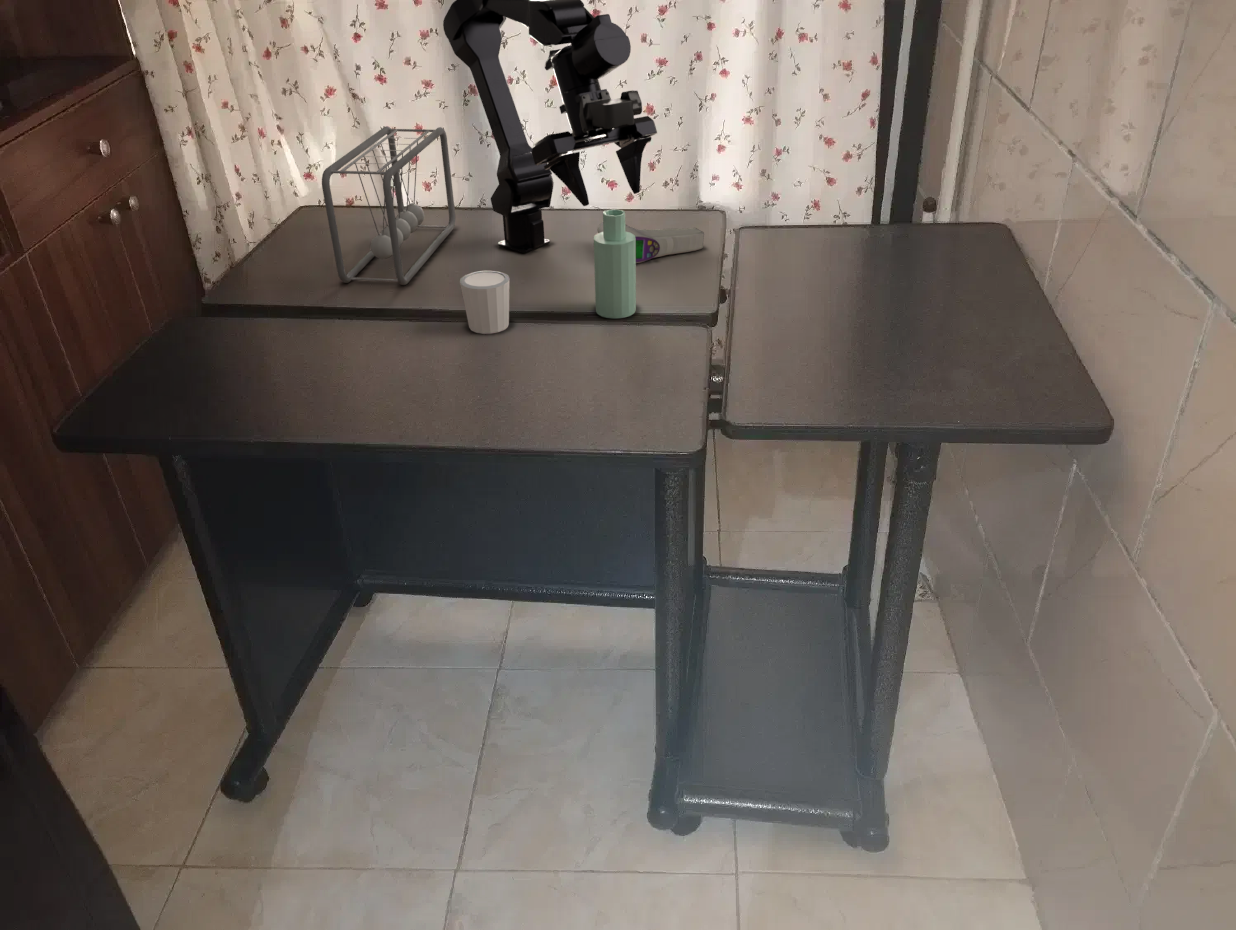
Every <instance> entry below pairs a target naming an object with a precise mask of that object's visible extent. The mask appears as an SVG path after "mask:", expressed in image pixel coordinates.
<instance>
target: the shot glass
mask: <svg viewBox="0 0 1236 930" xmlns="http://www.w3.org/2000/svg"><path fill="white" fill-rule="evenodd" d="M510 280H511V279H510V276H509V275H508V274H507V273H505V272H502V271H497V270H479V271H474V272H473V271H472V272H470V273H468V274H465V275H463V276H462V277H460V280H459V285H460V291H461V294H462V295H461V296H462V300H463V305H464V309H465V314H466V319H467V325H468V328H469V329H470V331H471V332H474V333H477V334H483V335H485V334H486V335H492V334H496V333H500V332H503V331H505V330H506V329H508V328H509V325H510Z"/></svg>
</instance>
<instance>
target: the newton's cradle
mask: <svg viewBox="0 0 1236 930" xmlns="http://www.w3.org/2000/svg"><path fill="white" fill-rule="evenodd" d="M397 132H401V133H402V132H403V133H404V132H408V133H409V132H410V133H421V135H419V136H418V137H405V139H406V140H407V139H410V140H411V139H412V140H413V139H414V140H413V141H412V142H411V143H399V145H401V146H402V145H403V146H404V145H407V146H406V147H404V148H403V149H397V144H396V137H395V134H396V133H397ZM427 134H428V135H427ZM426 135H427V136H426ZM425 136H426V137H425ZM424 137H425V138H424ZM423 138H424V139H423ZM437 138H439V139H440V147H441V156H442V167H443V175H444V176H443V177H444V184H445V185H444V186H445V192H446V201H447V211H448V224H447V225H425V224H424V225H423V222H424V221H425V215H426V214H425V210H424V209H423V208H422V206H420V205H419V204H416V203H415V202H416V184H417V168H418V166H417V165H418V155H419V154H420V153H421V152H423V151H424V150H425V149H426V148H427V147H429V146H430V144H432V143H433V142H434V141H435V140H436V139H437ZM421 139H422V140H421ZM385 141H387V142H388V143H387V144H388V148H389V149H384V147H383V143H384V142H385ZM419 141H420V142H419ZM415 144H416V145H415ZM414 145H415V146H414ZM379 146H381V151H382V153H383V157H384V159H385V161H386V163H384V164H383V162H382V163H378V159H377V158H382V155H381V156H377V155H376V153H375V149H376V148H377V147H379ZM413 146H414V147H413ZM386 151H388V152H389V158H390V160H389V161H388V159H387V156H386V153H385V152H386ZM371 152H372V154H373V155H368V154H369V153H371ZM398 152H399V153H398ZM404 153H405V155H404ZM449 153H450V152H449V144H448V136H447V132H446V130H445V128H443V127H442V126H440V127H439V126H438V127H437V128H435V129H427V128H426V129H419V128H416V129H415V128H391V127H390V126H388V125H386V126H383V127H382V128H381V129H379V130H378V131H376V132H375V133H373V134H372V135H371V136H370V137H368V138H366V139H365V140H364V141H363V142H361V143H360V144H359V145H357V146H355V147H354V148H352V150H350V151H349V152H346V153H345V154H344V155H342V156H341V157H340V158H339V159H337V160H336V161H334V162H333V163H331V164H330V165H329V166H327V167H326V168H325V169H324V170H323V173H322V176H321V189H322V195H323V200H324V207H325V210H326V216H327V221H328V226H329V228H328V229H329V232H330V233H329V234H330V238H331V239H330V240H331V244H332V249H333V255H334V260H335V266H336V271H337V275H338V278H339V280H340V281H341V283H344V284H348V283H350V282H351V281H364V282H365V281H367V282H368V281H369V282H392V283H398V284H399V285H401V286H406V285H407V284H408V283H410V281H411V280H412V279H413V277H415V276H416V274H417V273H418V272H419V270H420V269H421V268H422V267H423V266H424V265H425V263H427V261H428V260H429V258H431V256H432V255H433V254H434V253H435V252H436V251H437V249H439V247H440V246H441V244H442V243H443V242H444V241H445V239H447V237H448V236H449V235H450V234H451V232H452V231H453V230H454V229H455V226H456V209H455V200H454V191H453V190H454V189H453V182H452V181H453V180H452V173H451V172H452V171H451V163H450V154H449ZM360 154H361V155H360ZM400 157H401V158H400ZM362 158H363V159H364V161H365V162H358V161H360V160H361V159H362ZM366 158H374V159H375V162H368V161H367V159H366ZM398 158H399V159H398ZM413 159H415V170H414V172H415V173H414V187H413V188H414V191H413V202H410V198H409V187H410V170H411V169H410V168H411V161H412V160H413ZM359 164H360V165H362V164H364V165H366V168H367V170H368V171H366V170H359V168H358V166H357V165H359ZM353 165H354V166H355V168H356V170H348V169H349V168H350V167H352V166H353ZM369 165H377V169H378V170H376V171H373V170H370V168H369ZM379 165H382V166H381V167H380V166H379ZM390 165H391V166H390ZM406 165H408V174H407V188H406V185H405V182H404V179H403V168H404V167H405V166H406ZM384 170H385V171H384ZM333 174H341V175H343V174H344V175H346V174H347V175H348V174H349V175H358V177H359V180H360V183H361V186H362V191H363V193H364V195H365V198H366V202H367V205H368V208H369V211H370V214H371V217H372V220H373V223H374V227H375V229H376V233H377V235H376V236H374V237H373V238H372V239H371V242H370V250H369V251H368V252H367V253H366V254H365V255H364V256H363V257H362V258H361V259H360V260H359V261H358V262H357V263H356V264H355V265H354V266H353V267H352V268H351V269H350V270H349V271H348V272H347V273H346V269H345V263H344V259H343V252H342V247H341V240H340V235H339V230H338V223H337V219H336V213H335V208H334V202H333V197H332V190H331V184H330V183H331V182H330V181H331V176H332V175H333ZM361 175H369V177H370V180H371V182H372V185H373V188H374V192H375V195H376V198H377V201H378V203H379V207H380V209H381V212H382V215H383V217H382V229H381V230H380V233H379V230H378V227H377V224H376V221H375V217H374V215H373V212H372V209H371V205H370V202H369V198H368V195H367V193H366V189H365V187H364V184H363V181H362V177H361ZM372 175H379V176H380V177H381V181H382V191H383V197H384V198H383V206H382V204H381V201H380V198H379V194H378V192H377V189H376V186H375V182H374V180H373V177H372ZM402 185H403V188H404V191H405V194H406V206H405V204H404V197H403V189H402ZM394 195H395V196H394ZM394 197H395V198H396V205H397V212H398V214H397V215H396V213H395V206H394ZM385 212H386V216H385ZM386 217H387V219H386ZM385 224H386V227H385ZM417 228H421V229H422V228H423V229H443V230H442V231H441V232H440V233H439V234H438V236H437V237H436V238H435V239H434V240H433V242H432V243H430V245H429V246H428V247H427V248H426V250H425V251H424V252H423V253H422V254H421V256H419V258H418V259H417V260H416V261H415V263H414V264H413V265H412V266H411V267H410V268H409V269H408V271H407V272H406V273H405V274H404V269H403V264H402V256H401V248H400V247H401V246H402V244H403V242H405V241H407V240H408V239H409V237H410V235H411V234H412V233H414V232H415V231H416V230H417ZM391 257H393V264H394V273H395V278H380V277H379V278H378V277H377V278H375V277H356V276H357V275H358V274H359V273H360V272H361V271H362V270H363V269H364V268H365V267H366V266H367V265H368V264H369V263H370V262H371V261H372V259H373V258H377V259H380V260H387V259H389V258H391Z"/></svg>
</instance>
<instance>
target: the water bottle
mask: <svg viewBox="0 0 1236 930" xmlns="http://www.w3.org/2000/svg"><path fill="white" fill-rule="evenodd" d="M602 212H603V213H602V222H603V232H601V233H598V232H597V233H596V234H595V235H594V236H593V264H594V265H593V267H594V299H595V300H594V301H595V302H594V303H595V313H596V314H597V315H598V316H600V317H602V318H606V319H624V318H627V317H631V316H632V315H634V314H635V313H636V308H637V263H636V238H635V235H634V234H632V233H630V232H626V231H625V224H626V212H625V210H623V209H616V208H613V209H606V210H604V211H602Z"/></svg>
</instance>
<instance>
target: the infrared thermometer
mask: <svg viewBox="0 0 1236 930" xmlns="http://www.w3.org/2000/svg"><path fill="white" fill-rule="evenodd" d="M625 231H626V232H630V233H632V234H634V235H635V238H636V264H641V263H644V262H647V261H650V260H651V259H655V258H659V257H664V256H668V255H675V254H683V253H689V252H695V251H698V250H701V249H703V248H704V242H705V241H704V240H705V232H704V231H703V230H701V229H699V228H697V227H688V228H660V229H659V228H658V229H655V228H654V229H653V228H652V229H647V228H645V229H644V228H643V229H639V228H635V227H633V226H631V225H628V224H626V223H625ZM601 232H603V221H601V223H600V224H599V225H598V226H597V234H598V233H601Z"/></svg>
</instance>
